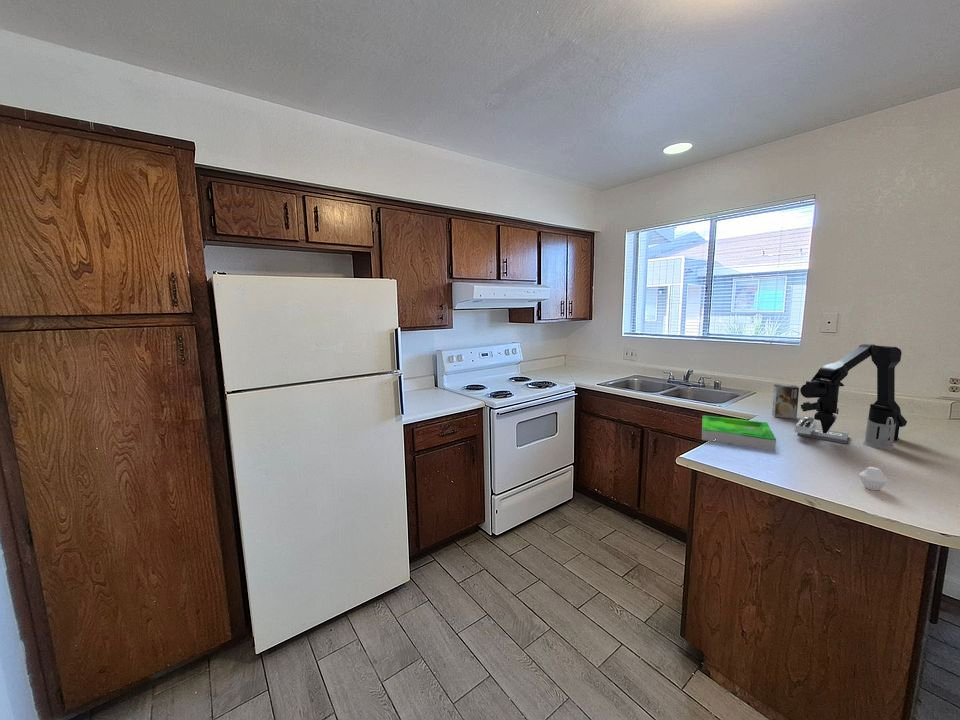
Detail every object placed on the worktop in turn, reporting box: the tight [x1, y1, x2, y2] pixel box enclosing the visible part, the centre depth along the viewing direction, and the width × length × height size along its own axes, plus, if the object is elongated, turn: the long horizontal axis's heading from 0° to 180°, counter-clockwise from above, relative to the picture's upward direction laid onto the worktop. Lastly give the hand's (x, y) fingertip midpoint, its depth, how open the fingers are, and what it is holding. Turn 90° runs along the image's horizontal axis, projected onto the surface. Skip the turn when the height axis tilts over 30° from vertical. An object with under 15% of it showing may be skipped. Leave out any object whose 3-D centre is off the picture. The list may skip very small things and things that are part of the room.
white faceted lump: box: [858, 466, 889, 491], centre depth 115 cm, size 6×6×7 cm
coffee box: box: [771, 384, 800, 419], centre depth 192 cm, size 9×6×16 cm
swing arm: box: [794, 416, 816, 435], centre depth 163 cm, size 15×5×5 cm, turn 132°
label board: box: [797, 427, 849, 445], centre depth 163 cm, size 16×12×2 cm
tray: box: [701, 414, 777, 451], centre depth 164 cm, size 25×25×5 cm
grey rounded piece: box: [862, 406, 897, 450], centre depth 148 cm, size 9×14×15 cm, turn 149°
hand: (824, 433), depth 157 cm, fingers closed
